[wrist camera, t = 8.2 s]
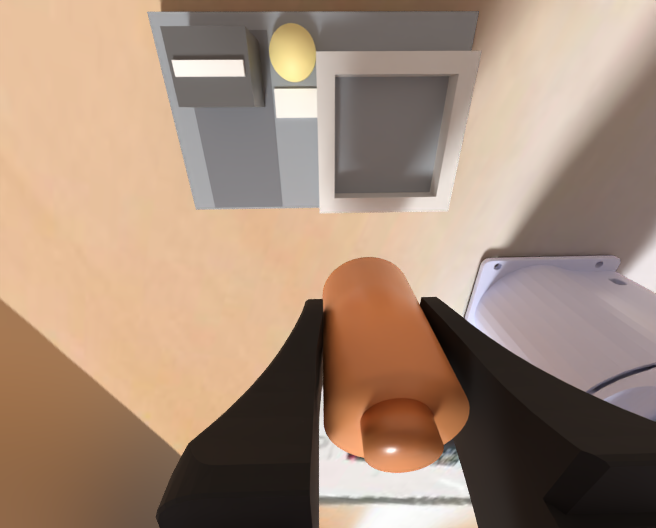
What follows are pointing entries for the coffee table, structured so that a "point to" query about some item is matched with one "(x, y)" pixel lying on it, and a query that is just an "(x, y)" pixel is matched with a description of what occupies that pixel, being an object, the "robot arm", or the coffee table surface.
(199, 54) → the block
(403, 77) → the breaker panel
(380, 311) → the orange bottle
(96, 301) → the coffee table surface
